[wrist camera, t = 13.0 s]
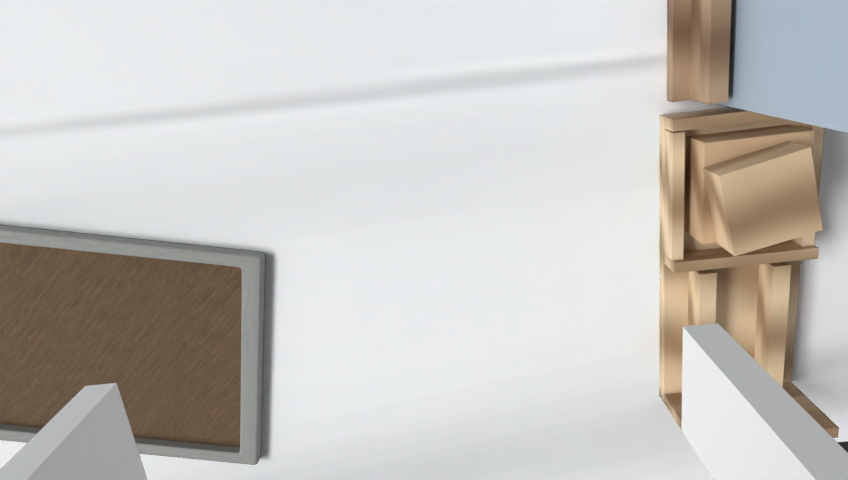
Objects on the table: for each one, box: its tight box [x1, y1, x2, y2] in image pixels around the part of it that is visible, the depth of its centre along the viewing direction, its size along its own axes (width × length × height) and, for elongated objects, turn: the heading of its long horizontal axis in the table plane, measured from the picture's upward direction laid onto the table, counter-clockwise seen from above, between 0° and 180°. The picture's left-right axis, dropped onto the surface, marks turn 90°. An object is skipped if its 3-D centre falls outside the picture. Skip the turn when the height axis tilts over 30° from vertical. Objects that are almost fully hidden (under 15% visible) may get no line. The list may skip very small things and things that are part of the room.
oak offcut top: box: [702, 141, 823, 256], centre depth 39 cm, size 6×6×2 cm
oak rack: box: [660, 107, 839, 438], centre depth 43 cm, size 23×10×7 cm, turn 7°
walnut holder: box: [667, 0, 731, 104], centre depth 39 cm, size 8×9×4 cm
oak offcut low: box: [685, 124, 815, 244], centre depth 42 cm, size 7×7×3 cm
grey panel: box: [716, 0, 848, 133], centre depth 33 cm, size 9×3×15 cm, turn 7°
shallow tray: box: [0, 225, 265, 465], centre depth 49 cm, size 19×2×30 cm
